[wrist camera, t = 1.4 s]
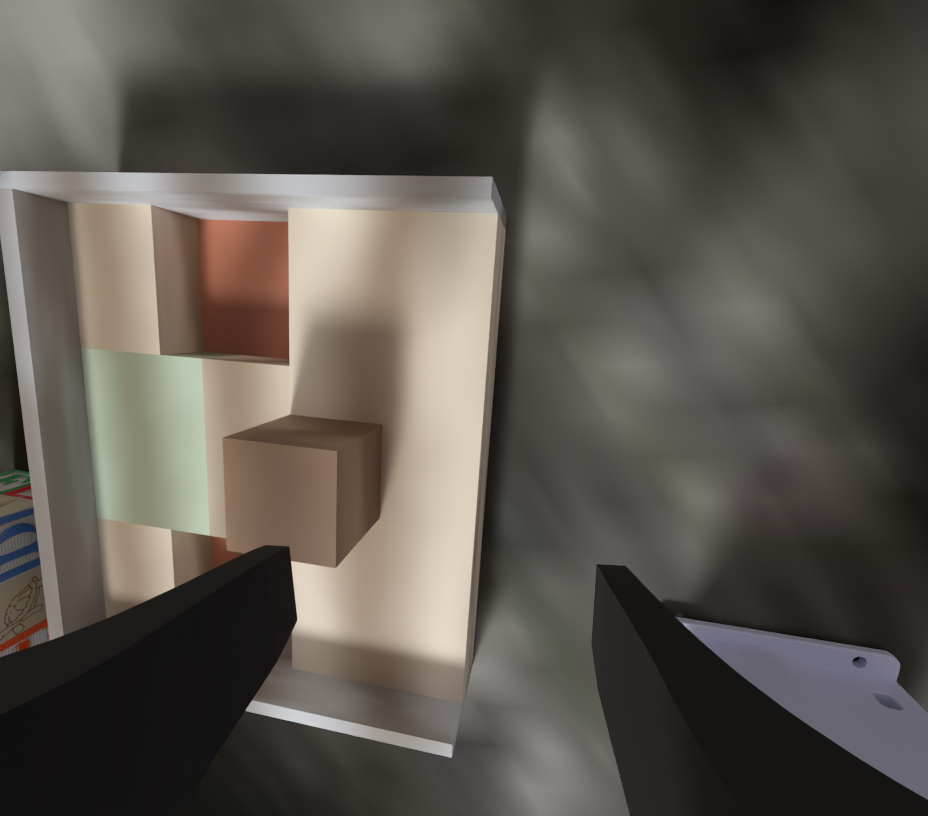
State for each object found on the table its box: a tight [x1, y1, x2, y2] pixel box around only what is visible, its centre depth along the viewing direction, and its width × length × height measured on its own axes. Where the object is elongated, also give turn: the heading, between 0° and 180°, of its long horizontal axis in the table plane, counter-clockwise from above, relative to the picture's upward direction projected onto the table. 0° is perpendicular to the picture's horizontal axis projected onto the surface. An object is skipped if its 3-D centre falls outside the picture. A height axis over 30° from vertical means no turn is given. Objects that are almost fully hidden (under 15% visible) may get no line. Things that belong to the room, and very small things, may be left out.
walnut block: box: [223, 415, 382, 568], centre depth 17 cm, size 4×4×4 cm
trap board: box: [0, 171, 507, 758], centre depth 20 cm, size 19×21×5 cm
